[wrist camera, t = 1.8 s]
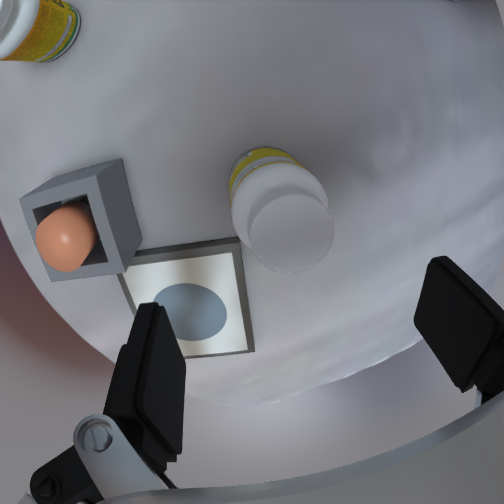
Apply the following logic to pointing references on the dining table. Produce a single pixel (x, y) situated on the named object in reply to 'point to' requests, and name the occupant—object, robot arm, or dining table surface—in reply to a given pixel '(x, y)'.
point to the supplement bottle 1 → (36, 29)
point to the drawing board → (195, 294)
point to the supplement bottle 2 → (279, 210)
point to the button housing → (104, 212)
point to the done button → (67, 236)
